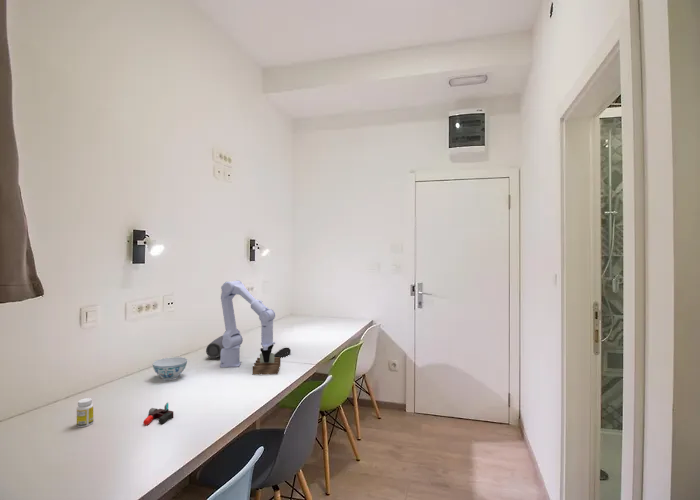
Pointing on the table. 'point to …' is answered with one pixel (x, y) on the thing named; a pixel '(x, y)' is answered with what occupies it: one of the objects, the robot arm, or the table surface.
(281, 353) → the hairbrush
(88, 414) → the supplement bottle
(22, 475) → the table surface
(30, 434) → the table surface
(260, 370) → the dish rack
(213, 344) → the bluetooth speaker
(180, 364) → the chinaware
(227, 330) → the robot arm
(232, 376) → the table surface
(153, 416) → the toy gun
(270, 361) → the pale green box
